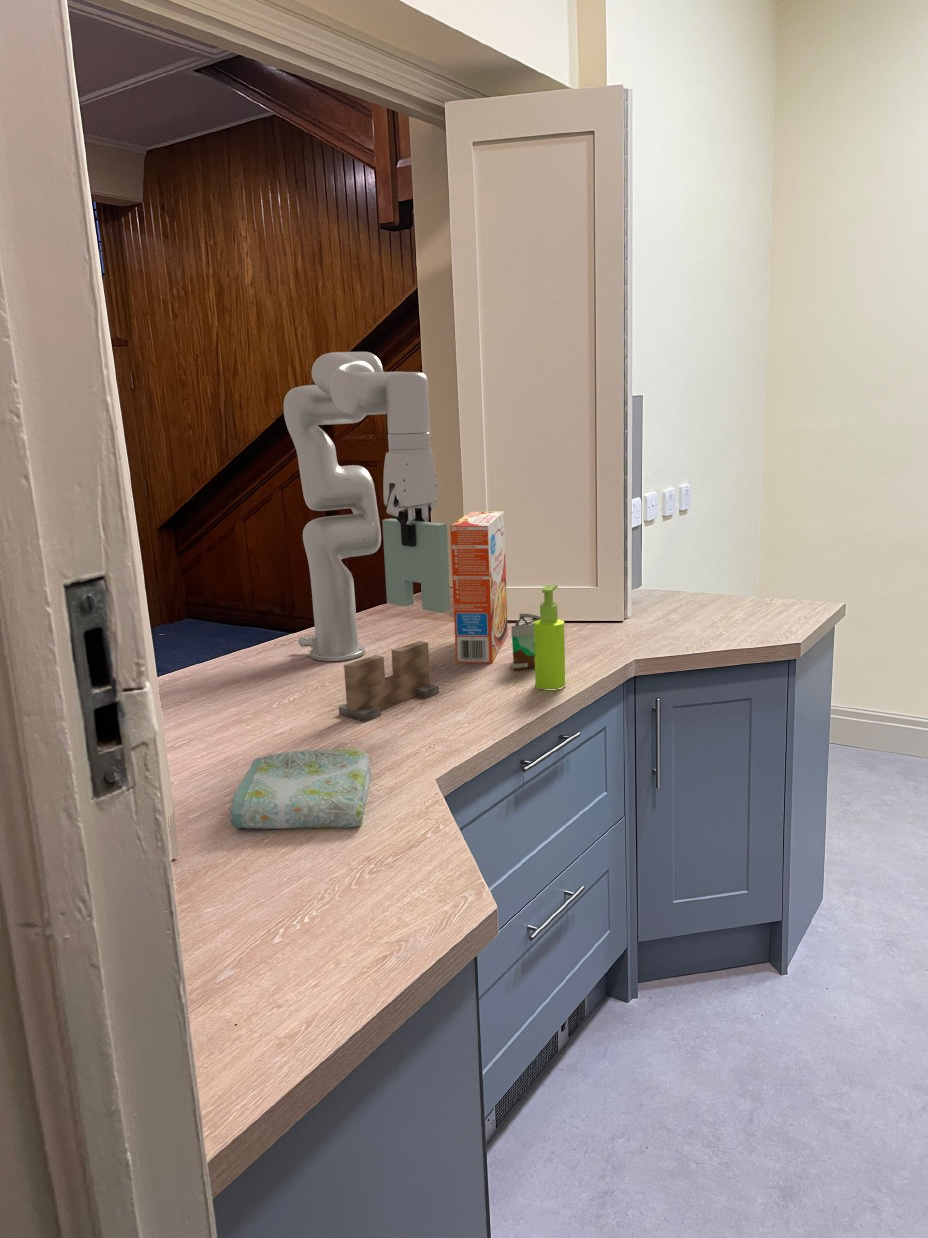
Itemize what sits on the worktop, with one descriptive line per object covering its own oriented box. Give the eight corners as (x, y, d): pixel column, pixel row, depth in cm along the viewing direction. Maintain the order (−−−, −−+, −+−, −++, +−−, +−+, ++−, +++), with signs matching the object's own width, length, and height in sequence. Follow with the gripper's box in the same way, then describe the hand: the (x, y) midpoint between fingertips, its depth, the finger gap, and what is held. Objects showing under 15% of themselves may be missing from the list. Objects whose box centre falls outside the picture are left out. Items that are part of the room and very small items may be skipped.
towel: (373, 772, 149) (371, 741, 148) (362, 833, 129) (360, 798, 127) (258, 777, 149) (255, 747, 148) (229, 839, 128) (225, 805, 127)
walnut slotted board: (364, 721, 171) (361, 669, 169) (339, 714, 176) (335, 662, 173) (439, 693, 185) (437, 644, 183) (413, 686, 190) (411, 639, 188)
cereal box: (492, 663, 204) (487, 525, 197) (456, 662, 206) (450, 526, 199) (507, 636, 226) (503, 511, 219) (474, 635, 228) (469, 511, 221)
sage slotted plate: (442, 612, 171) (438, 525, 167) (386, 603, 180) (382, 519, 176) (450, 610, 173) (446, 523, 169) (394, 601, 181) (390, 518, 177)
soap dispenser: (569, 680, 190) (567, 583, 185) (561, 691, 183) (559, 591, 179) (541, 679, 192) (538, 582, 187) (532, 689, 185) (529, 590, 181)
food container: (542, 673, 195) (540, 627, 193) (512, 673, 196) (511, 626, 194) (548, 657, 207) (547, 613, 205) (521, 656, 208) (519, 612, 206)
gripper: (423, 439, 177) (428, 536, 182) (362, 446, 165) (369, 549, 170) (454, 440, 172) (457, 539, 177) (393, 446, 161) (399, 553, 165)
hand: (414, 543), depth 173 cm, fingers closed on sage slotted plate, 2 cm apart
